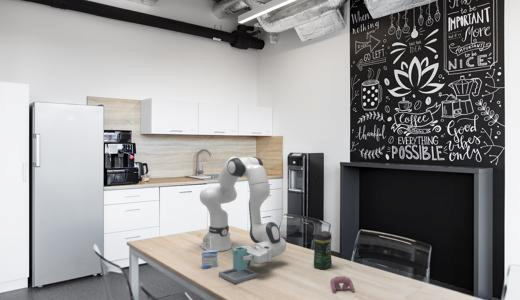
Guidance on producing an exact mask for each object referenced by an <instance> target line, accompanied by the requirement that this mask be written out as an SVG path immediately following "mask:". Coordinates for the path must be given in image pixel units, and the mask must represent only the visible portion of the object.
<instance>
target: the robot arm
mask: <svg viewBox="0 0 520 300" xmlns="http://www.w3.org/2000/svg"><path fill="white" fill-rule="evenodd" d="M239 177H240V178H242V177H245V178H246V179H247V181H248V187H249V199H248V212H249V222H250V224H249V225H250V229H249V238H250V240H251V241H252V242H253V243H255V244H253V246H249V245H240V246H239V247H244V248H247V256H242V260H252V261H255V262H257V264H262V263H268V262H269V263H270V262H272V258H274V257H279V256H280V255H282V254H283V253H285V251H286V250H287V241H286V240H285V239H284V238H283V236H282V235H281V232H280V228H279V226H278V225H277V224H276V223H275V222H273V221H268V222H264V223H262V217H261V206H262V205H263V203H264V202H265V201H266V200H267V199H268V198H269V196H270V194H271V188H270V183H269V182H270V181H269V178H268V175H267V172H266V170H265V167H264V164H263V161H262V159H261V158H259V157H256V156H241V157H239V156H234V155H232V156H230V157H229V158H228V159H227V161H226V162H225V163H224V165H223V167H222V168H221V171H220V173H219V175H218V177H217V181H218V184H219V185H218V186H212V187H211V186H210V187H207V188H204V189H202V190H201V191H200V193H199V200H200V202H201V203H202V205H204V206H205V207H206V208H207V211H208V212H209V219H210V220H209V223H210V225H209V226H208V231H207V233H206V234H205V235H203V238H202V242H201V243H200V244H199V245H200V246H201V247H200V246H199V247H200V248H202V249H203V250H204V249H205V250H204V251H206V250H217V252H222V251H227V250H230V249H231V248H232V246H233V243H232V242H231V234H230V232H229V230H230V227H229V219H228V217H229V215H228V211H226V210H224V209H223V208H222V205H223V204H227V203H228V204H229V203H231V202H233V201H235V200H236V198H237V196H238V192H237V190H236V188H235V185H236V183H237V181H238V179H239ZM237 247H238V246H236V247H235V248H237Z"/></svg>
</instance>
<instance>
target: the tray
mask: <svg viewBox="0 0 520 300" xmlns="http://www.w3.org/2000/svg"><path fill="white" fill-rule="evenodd" d="M218 277H219V278H221V279H223V280H224V281H227V282H229V283H230V284H233V285H238V284H241V283H244V282H248V281H250V280H254V279H257V278H259V272H257V271H254V270H252V269H249V268H247V269H245V270H242V271H237V270H235V269H233V268H231V269H230V268H229V269H225V270H223V271H219V272H218Z"/></svg>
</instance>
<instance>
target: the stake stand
mask: <svg viewBox="0 0 520 300" xmlns="http://www.w3.org/2000/svg"><path fill="white" fill-rule="evenodd" d="M256 264H258V263H257V262H255V261H252V260H247V267H251V266H253V265H256Z"/></svg>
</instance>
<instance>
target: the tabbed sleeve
mask: <svg viewBox="0 0 520 300" xmlns="http://www.w3.org/2000/svg"><path fill="white" fill-rule="evenodd" d="M236 247H237V248H236ZM236 247H233V248H232V264H233V265H232V269H235V270H237V271H242V270H245V269H248V266H247V260H242V256H247V248H244V247H240V246H236Z"/></svg>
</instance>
